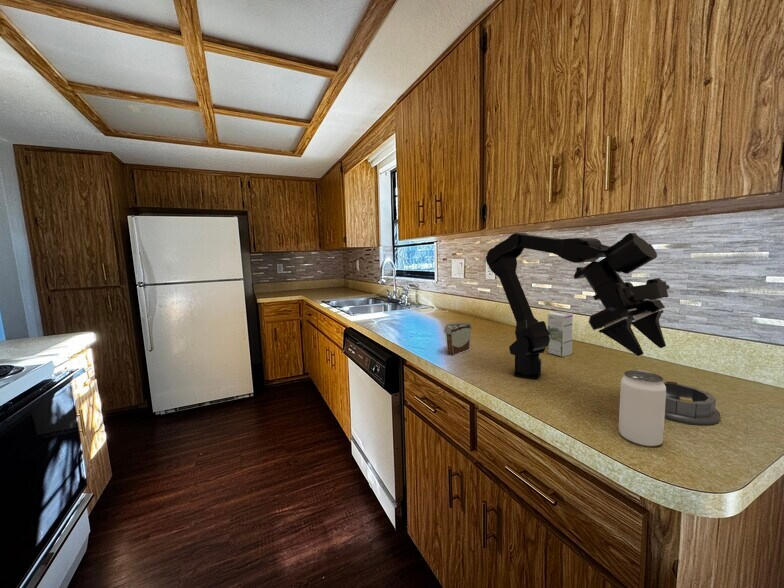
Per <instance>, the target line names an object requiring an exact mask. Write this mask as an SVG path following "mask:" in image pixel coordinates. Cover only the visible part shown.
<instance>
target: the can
mask: <svg viewBox="0 0 784 588" xmlns="http://www.w3.org/2000/svg"><path fill="white" fill-rule="evenodd" d="M623 374H624V375H623V377H622V378H621V380H620V390H619V391H620V395H619V411H618V412H619V414H618V415H619V417H618V433H619V434H620V435H621V437H623V438H624V439H625V440H626V441H628V442H630V443H633V444H636V445H637V446H641V447H642V446H643V447H647V448H653V447H654V448H655V447H658V446H660V445H661V444H662V443H664V430H665V429H664V428H665V418H664V417H665V402H666V387H665V385H664V383H663V382H664V381H665V380H664V378H663V376H661V375H659V374H656V373H653V372H649V371H645V370H634V369H632V370H631V369H630V370H626V371H624V373H623Z"/></svg>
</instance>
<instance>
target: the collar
mask: <svg viewBox="0 0 784 588" xmlns="http://www.w3.org/2000/svg"><path fill="white" fill-rule="evenodd" d="M663 383H664V385H665V387H666V402H665V417H664V420H665V419H666V420H668V421H669V420H670V421H673V422H677V423H680V424H685V425H693V426H715V425H717V424H719V423H720V422H721V412H720V411H719V410H717V409H716V401H717V399H716V398H715V397H714V396H713V395H712V394H711V393H709V392H706V391H704V390H702V389H700V388H697V387H694V386H689V385H686V384H682V383H678V381H677V380H673V379H665V380H664V381H663Z"/></svg>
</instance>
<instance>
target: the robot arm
mask: <svg viewBox="0 0 784 588" xmlns="http://www.w3.org/2000/svg"><path fill="white" fill-rule="evenodd" d="M525 249H527V250H534V251H537V252H538V251H539V252H543V253H549V254H553V255H555V256H557V257H559V258H560V259H563V260H565V261H568V262H571V263H574V264H578V263H580V264H581V263H588V264H586V265H585V266H579V267H576V268H575V269H576V270H575V273H574V274H573V279H574V280H577V279H578V280H579V279H586V281H587V283H589V286H590V287H591V288H592V290H593V291H594V293H595V295H593V296H592V297H593V299H594V301H600V302H601V304H602V306H603V309H602V310H600V311H598V312H596V313H595V314H592V315H590V316H589V320H588V323H589V324H588V325H590V327H591V329H592V330H593V331H596V330H598V332H599V334H601V333H602V334H603V335H605V336H606V337H608V338H610V339H611V340H613V341H614V342H616V343H617V344H619V345H621V346H622V347H624V348H625V349H627V350H628V351H629V352H631V353H633V355H635V356H638V357H640V356H642V355H644V351H643V349H642V346H641V345H640V343H639V340H638V339H637V337H636V335H635V333H634V331H633V329H632V326H633V327H634V328H635V329H637V331H639V332H640V333H641V334H642V335H643V336H645V337H646V338H647V339H648V340H650V341H651V343H653V344H654V345H655V346H657V347H658V348H659V349H662V348H666V346H667V344H666V342H665V338H664V333H663V331H662V327H661V323H660V320H661V319H660V318H661V316H662V314H663V313H664V309H665V308H666V306H665V305H664V304H663V302H662V301H661V300H660V299H663V298H669V294H668V290H669V289H670V285H668V284H667V282H666V281H663V280H662V279H661V278H660V277H657V278H652V279H651V278H650V279H647V280H646V283H645V284H640V285H635V286H634V285H633V283H632V282H630V281H624V280H623V279H622V277H621V276H620V274H619V273H622V274H627V275H628V274H631V273H632V272H634V271H636V270H637V269H639V268H641V267H642V266H645V265H646V264H649V263H650V262H652V261H654V260H655V259H656V258H657V257H658V254H657V251H656V250H655V248H654V246H653V245H652V244H651V243H649V242H647V240H645V239H643V238H642V237H640V236H638V235H637V233H636V232H629V233H628V234H626V235H624V236H623V237H622V238H621V239H619V240H618V241H617V242H616V243H614V244H612V245H611V246H610V245H605V244H602V242H601V240H600V239H598V238H595V237H571V238H557V237H550V236H543V235H536V234H529V233H526V232H514V233H512V234H511V235H510V236H508V238H506V239H504V240H503V241H501V242H499V243H498V244H496V245H495V246H494V247H492V248H490V249H489V250H488V252H487V253H486V255H485V261H486V264H487V266H488V267H489V269H490V271H491V272H492V273H493V274H494V275H495V276H496V277H498V278H499V281H500V283H501V286H502V288H503V291H504V294H505V296H506V299H507V301H508V304H509V306H510V309H511V311H512V314H513V317H514V320H515V322H516V324H515V325H516V326H515V331H514V335H515V339H516V340H515V341H514V342H512V344H510V345H509V347H508V350H509V352H510V355H513V356H514V371H513V377H518V378H519V377H520V378H525V379H532V380H533V379H534V380H539V378H540V377H539V376H541V375H542V358H540V354H544V352H545V350H546V348H547V346H548V344H549V342H550V338H549V335H550V333H549V332H548V326H547V325H546V321H544V320H543V321H539V320H537V319H536V317H535V316H534V313H533V312H532V309H531V306H530V305H529V302H528V299H527V297H526V294H525V292H524V290H523V286H522V285H521V281H520V280H519V277H518V275H517V267H518V260H517V258H518V257H520V256H521V254H522V253H523V251H524V250H525ZM599 258H602V259H601V260H599ZM598 260H599V261H598Z"/></svg>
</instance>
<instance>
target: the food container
mask: <svg viewBox="0 0 784 588" xmlns="http://www.w3.org/2000/svg"><path fill="white" fill-rule="evenodd" d="M472 328H473V326H472V324H471V322H451V323H447V324H446V325H445V327H444V329H443V333H444V334H445V336H446V346H447V353H448V354H449V355H450V354H451V355H450V356H453V355H454V356H456V355H455V354H457V355H459V354H458V353H460V352H462V353H464V352H463V351H465V352H467V351H466V350H468V349H469V350H471V349H470V346H471V345H470V344H471V330H472ZM469 350H468V351H469ZM460 354H461V353H460Z"/></svg>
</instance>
